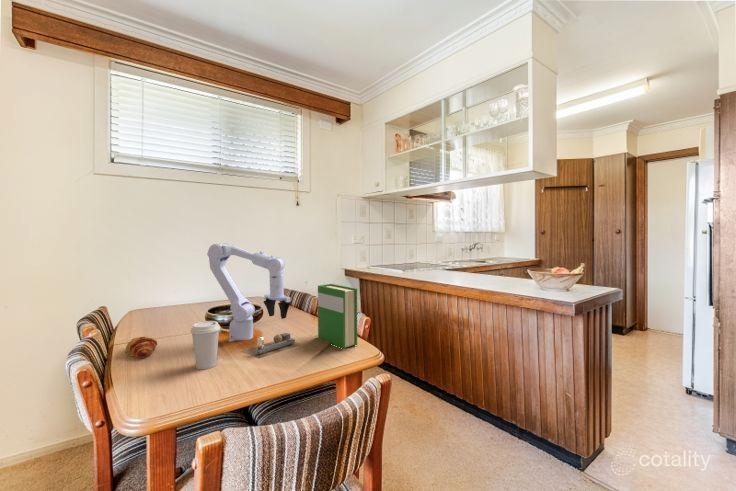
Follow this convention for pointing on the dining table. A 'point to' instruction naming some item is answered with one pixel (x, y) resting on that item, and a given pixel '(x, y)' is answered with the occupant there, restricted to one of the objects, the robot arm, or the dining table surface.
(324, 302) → the hardback book
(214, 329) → the coffee cup
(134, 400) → the dining table surface
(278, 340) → the tan wooden ball
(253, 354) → the base
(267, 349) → the lever
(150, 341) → the croissant
